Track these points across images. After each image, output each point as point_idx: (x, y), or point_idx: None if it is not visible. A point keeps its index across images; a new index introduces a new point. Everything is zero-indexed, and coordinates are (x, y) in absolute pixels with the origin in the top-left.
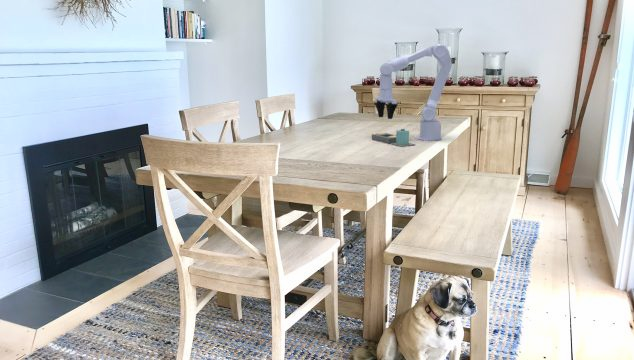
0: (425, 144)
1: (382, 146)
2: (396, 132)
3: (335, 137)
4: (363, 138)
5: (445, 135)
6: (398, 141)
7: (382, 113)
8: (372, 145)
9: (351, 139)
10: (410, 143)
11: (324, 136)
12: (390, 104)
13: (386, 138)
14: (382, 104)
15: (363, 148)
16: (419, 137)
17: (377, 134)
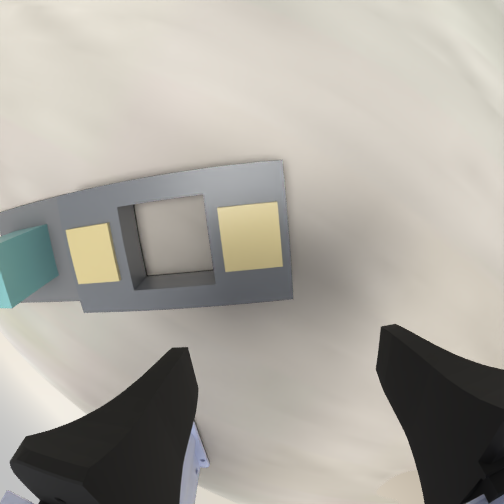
0: (46, 355)
1: (43, 129)
2: (2, 241)
3: (457, 31)
4: (367, 143)
5: (231, 499)
6: (22, 230)
7: (393, 391)
8: (89, 82)
9: (364, 53)
10: (38, 296)
11: (491, 17)
12: (25, 480)
13: (82, 190)
14: (443, 483)
15: (50, 21)
16: (192, 426)
17: (253, 200)
